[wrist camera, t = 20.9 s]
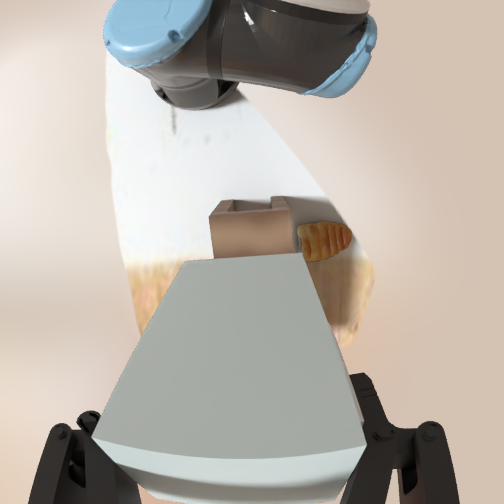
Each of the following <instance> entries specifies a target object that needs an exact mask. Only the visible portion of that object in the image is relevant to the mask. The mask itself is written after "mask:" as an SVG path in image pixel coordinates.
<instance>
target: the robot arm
mask: <svg viewBox="0 0 504 504" xmlns="http://www.w3.org/2000/svg"><path fill="white" fill-rule="evenodd" d="M369 7H370V3H369V1H368V0H116V2H115V3H114V4H113V6H112V8H111V9H110V11H109V13H108V15H107V18H106V20H105V24H104V29H103V39H104V43H105V46H106V48H107V49H108V51H109V52H110V53H111V54H112V55H113V56H114V57H115V58H116V59H117V60H118V61H119V62H120V63H121V64H122V65H124V66H125V67H126V66H127V67H128V68H132V69H134V70H135V71H137V72H139V73H140V74H142V75H144V76H146V77H147V78H149V79H150V81H151V84H152V87H153V89H154V91H155V92H156V94H157V95H158V96H159V97H160V98H161V99H162V100H164V101H165V102H167V103H168V104H170V105H172V106H174V107H177V108H180V109H184V110H201V109H205V108H209V107H212V106H214V105H216V104H218V103H220V102H222V101H223V100H225V99H226V98H227V97H228V96H229V95H230V94H231V93H232V92H233V91H234V90H235V89H236V87H237V86H238V84H239V82H243V83H250V84H256V85H262V86H268V87H273V88H278V89H283V90H288V91H293V92H296V93H298V94H300V95H301V94H303V95H309V94H310V95H315V96H319V97H324V98H336V97H339V96H341V95H344V94H345V93H347V92H348V91H349V90H350V89H351V88H352V87H353V86H354V85H355V84H356V83H357V82H358V80H359V79H360V78H361V76H362V75H363V73H364V72H365V70H366V68H367V66H368V64H369V62H370V60H371V51H372V50H373V48H374V47H375V44H376V40H377V26H376V23H375V21H374V19H373V17H371V16H370V15H369V14H368V10H369ZM328 324H329V327H330V330H331V333H332V336H333V339H334V342H335V344H336V347H337V350H338V353H339V356H340V359H341V362H342V365H343V368H344V371H345V374H346V377H347V380H348V384H349V387H350V390H351V393H352V396H353V399H354V403H355V406H356V409H357V413H358V416H359V419H360V423H361V426H362V429H363V433H364V436H365V440H366V444H367V446H366V448H365V450H364V452H363V453H362V455H361V457H360V459H359V461H358V463H357V465H356V466H355V468H354V470H353V472H352V473H351V475H350V477H349V479H348V481H347V484H346V487H345V490H344V493H343V496H342V499H341V502H340V504H385V502H386V498H387V493H388V489H389V484H390V480H391V475H392V470H393V469H397V472H398V484H399V496H400V504H460V502H459V496H458V490H457V484H456V479H455V473H454V469H453V464H452V460H451V455H450V451H449V447H448V443H447V439H446V436H445V432H444V429H443V427H442V426H441V425H440V424H439V423H437V422H434V421H427V422H424V423H422V424H421V425H420V426H419V427H418V428H412V429H404V428H398V427H395V426H394V425H393V424H391V423H390V422H389V421H388V420H387V418H386V415H385V413H384V410H383V407H382V405H381V402H380V400H379V397H378V396H377V392H376V390H375V389H374V385H373V383H372V380H371V379H370V378H369V377H368V376H367V375H366V374H365V373H358V374H352V375H349V374H348V371H347V368H346V365H345V363H344V360H343V357H342V354H341V351H340V349H339V346H338V343H337V340H336V338H335V335H334V332H333V330H332V327H331V324H330V323H328ZM100 417H101V415H100V414H99V413H98V412H96V411H86V412H84V413H82V414H81V415H80V416H79V417H78V419H77V422H76V423H77V424H78V425H79V427H80V428H81V429H82V430H72V429H71V428H70V427H69V426H68V425H67V424H64V423H59V424H57V425H55V426H54V427H52V429H51V431H50V433H49V436H48V438H47V441H46V444H45V447H44V450H43V453H42V456H41V459H40V462H39V465H38V468H37V472H36V475H35V479H34V483H33V486H32V490H31V493H30V497H29V502H28V504H142V503H141V499H140V494H139V489H138V485H137V482H136V481H134V480H133V479H132V478H131V477H130V476H129V475H128V474H127V473H126V472H125V471H123V470H122V469H121V468H120V467H119V466H118V465H117V464H116V463H115V462H114V461H113V460H112V459H111V458H110V457H109V456H108V455H107V454H106V453H105V452H104V451H103V450H102V448H101V447H100V446H99V445H98V444H97V443H96V442H95V441H94V440H93V439H92V435H93V432H94V430H95V428H96V426H97V424H98V421H99V419H100Z"/></svg>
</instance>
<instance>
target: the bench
mask: <svg viewBox="0 0 504 504" xmlns="http://www.w3.org/2000/svg"><path fill="white" fill-rule="evenodd" d="M209 223H210V231H211V239H212V247H213V254H214V259H221V258H235V257H248V256H262V255H276V254H289V253H293V234H292V212H291V209H290V207H289V206H288V204H287V202H286V200H285V199H284V197H283V196H274V197H271V209H259V210H246V211H235V210H234V200H223V201H221V202H220V203H219V204H218V206H217V207H216V208H215V209H214V211H213V212H212V213H211V215H210V216H209Z"/></svg>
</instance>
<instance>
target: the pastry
mask: <svg viewBox="0 0 504 504" xmlns="http://www.w3.org/2000/svg"><path fill="white" fill-rule="evenodd" d="M351 235H352V232H351V230H350V229H349V228H348V227H347V226H346V225H344V224H337V223H335V222H325V221H320V222H318V223H308V224H301V225H299V226H298V227H297V236H298V241H299V244H300V245H299V253H302V255H303V257H304V260H305V261H320V260H323V259H327V258H329V257H332V256H334V255H335V254H338V253H339V252H340V251H342V250H344V249H346V248H347V247H348V246H349V244H350V242H351Z"/></svg>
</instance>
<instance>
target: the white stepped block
mask: <svg viewBox="0 0 504 504" xmlns="http://www.w3.org/2000/svg"><path fill="white" fill-rule="evenodd" d="M92 439H93V440H94V441H95V442H96V443H97V444H98V445H99V446H100V447H101V448H102V450H103V451H104V452H105V453H106V454H107V455H108V456H109V457H110V458H111V459H112V460H113V461H114V462H115V463H116V464H117V465H118V466H119V467H120V468H121V469H122V470H123V471H125V472H126V473H127V474H128V475H129V476H130V477H131V478H132V479H133V480H134V481H136V482H137V483H138V484H139V485H141V487H143V488H144V489H145V490H146V491H147V492H149V493H150V494H151V495H152V496H154V497H155V498H158V499H163V500H168V501H175V502H180V503H187V504H316V503H322V502H329V501H334V500H335V499H336V498H337V496H338V495H339V493H340V492H341V490H342V488H343V487H344V485H345V484H346V482H347V480H348V479H349V477H350V475H351V473H352V472H353V470H354V468H355V466H356V465H357V463H358V461H359V459H360V457H361V455H362V453H363V452H364V450H365V448H366V446H367V444H366V440H365V436H364V433H363V429H362V426H361V423H360V419H359V416H358V413H357V409H356V406H355V403H354V399H353V396H352V393H351V390H350V387H349V384H348V380H347V377H346V374H345V371H344V368H343V365H342V362H341V359H340V356H339V353H338V350H337V347H336V344H335V342H334V339H333V336H332V333H331V330H330V327H329V324H328V322H327V319H326V316H325V313H324V310H323V308H322V305H321V302H320V300H319V297H318V294H317V291H316V289H315V286H314V283H313V281H312V278H311V276H310V273H309V270H308V268H307V265H306V263H305V260H304V257H303V255H302V253H289V254H276V255H262V256H248V257H235V258H221V259H207V260H193V261H185V262H184V263H183V265H182V267H181V268H180V270H179V272H178V273H177V275H176V277H175V279H174V280H173V282H172V284H171V285H170V287H169V289H168V290H167V292H166V294H165V296H164V297H163V299H162V301H161V303H160V304H159V306H158V308H157V310H156V311H155V313H154V315H153V317H152V318H151V320H150V322H149V324H148V326H147V327H146V329H145V331H144V333H143V335H142V337H141V338H140V340H139V342H138V344H137V346H136V348H135V350H134V351H133V353H132V355H131V357H130V359H129V361H128V363H127V365H126V367H125V369H124V371H123V373H122V374H121V377H120V378H119V381H118V382H117V384H116V386H115V388H114V391H113V393H112V394H111V397H110V398H109V401H108V403H107V405H106V407H105V409H104V411H103V413H102V415H101V417H100V419H99V421H98V424H97V426H96V428H95V430H94V432H93V435H92Z"/></svg>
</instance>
